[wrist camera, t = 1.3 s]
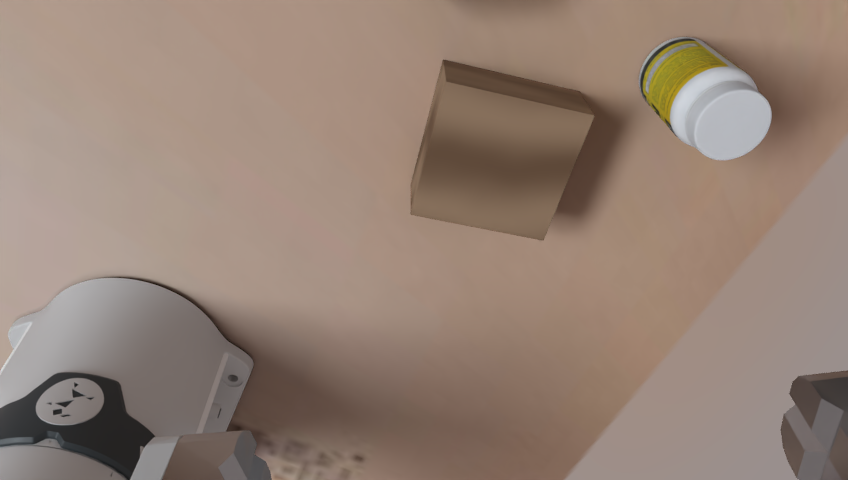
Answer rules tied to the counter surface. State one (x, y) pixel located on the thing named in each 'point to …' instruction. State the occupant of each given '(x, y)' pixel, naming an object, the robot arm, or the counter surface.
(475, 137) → the walnut block
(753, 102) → the supplement bottle
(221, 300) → the counter surface
